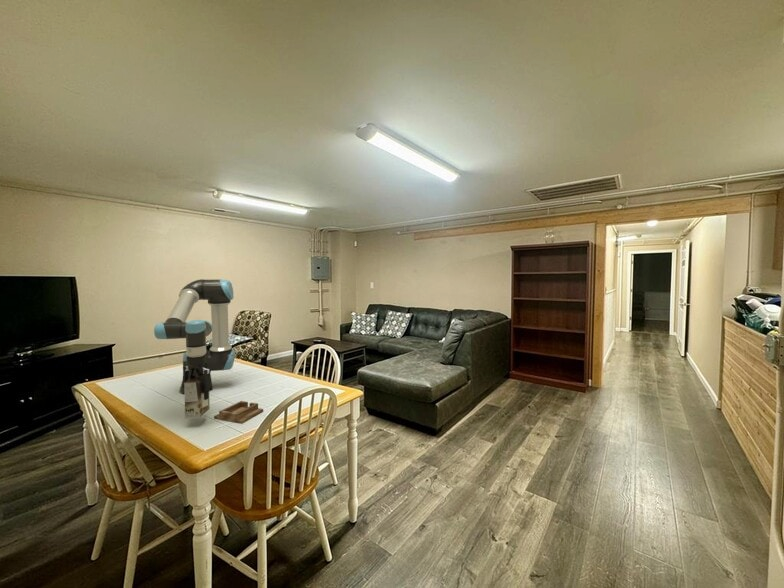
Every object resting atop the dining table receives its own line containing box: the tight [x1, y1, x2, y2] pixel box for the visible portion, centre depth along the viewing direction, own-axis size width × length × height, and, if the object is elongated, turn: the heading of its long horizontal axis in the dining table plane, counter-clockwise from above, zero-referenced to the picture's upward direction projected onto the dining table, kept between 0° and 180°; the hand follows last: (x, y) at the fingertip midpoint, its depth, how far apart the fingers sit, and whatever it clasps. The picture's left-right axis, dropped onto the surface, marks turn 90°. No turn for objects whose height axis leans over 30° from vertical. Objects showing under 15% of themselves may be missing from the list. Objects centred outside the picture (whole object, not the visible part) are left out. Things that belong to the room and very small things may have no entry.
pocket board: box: [213, 400, 264, 425], centre depth 150 cm, size 16×14×4 cm
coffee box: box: [183, 376, 211, 419], centre depth 141 cm, size 9×6×16 cm
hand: (197, 404), depth 141 cm, fingers closed on coffee box, 8 cm apart
